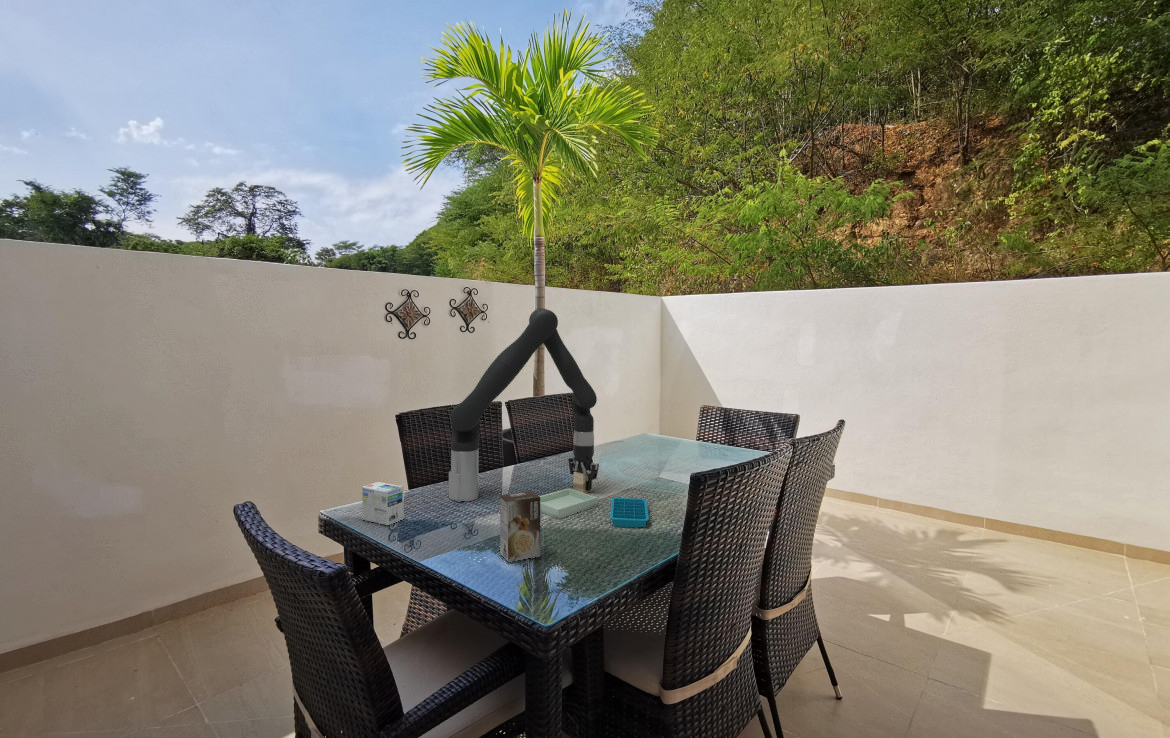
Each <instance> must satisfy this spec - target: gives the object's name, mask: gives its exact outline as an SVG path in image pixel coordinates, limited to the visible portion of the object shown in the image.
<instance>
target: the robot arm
mask: <svg viewBox="0 0 1170 738" xmlns="http://www.w3.org/2000/svg"><path fill="white" fill-rule="evenodd" d="M558 324H559V320H558V317H557V315H556V314H555V313H554V312H553V311H552V310H550V309H547V308H538V309H535V310H534V311H532V312H531V314H530V316H529V319H528V324H527V327H526V328H525V329H524V331H523V332H522V333H521V334H520V335H519V336H518V338H517V339H515V341H513V342H512V343H511V344H510V345H508V346H507V347H506V348H505V349H503V350H502V351H501V352H500V353H499V354H498V355H497V356H496V358H495V359H494V360H493V361H492V362H491V363H490V365H489V366H488V367H487V369H486V370H485V372H484V373H483V375H482V376H481V377H480V380H479V381H478V382H477V384H476V386H475V387H474V388H473V390H472V391H471V392H470V393H469V394H468V395H467V396H466V397H465V399H463V400H462V401H461V402H460V403H458V404H456V405H455V406H454V408H453V409H452V410H451V414H450V419H449V420H450V423H451V440H450V441H451V442H450V446H451V447H450V456H451V458H450V466H451V468H450V470H449V471H448V498H449V500H451V501H454V500H455V501H454V502H456V501H457V502H456V503H461V501H465V502H470V501H475V500H477V499H478V498H479V451H480V450H479V447H480V444H479V443H480V418H481V417H482V416H483V414H484V413H485V412H486V410H487V409H488V407H489V406H490V404H492V403H493V401H494V400H495V399H496V398H498V397H499V395H501V394H502V392H503V391H505V389H507V387H508V386H509V385H510V384H511V383H512V382H513V381H514V379H515V378H516V377H517V376H518V374H520V372H521V371H522V370H523V369H524V367H525V366H526V365H527V363H528V362H529V361H530V359H531V358H532V356H533V354H534V353H536V351H537V350H538V349H539V348H540V346H542V345H544V347H545V348H546V350H547V352H548V353H549V355H550V357H551V359H552V361H553V363H554V364H555V367H556V369H557V371H558V373H559V375H560V376H561V378H562V380H563V382H564V384H565V385H566V387H568V388H569V389H571V391H572V392H573V394H572V400H571V404H572V410H573V416H574V424H573V425H574V427H573V429H574V431H573V444H572V445H573V446H572V447H573V451H572V453H573V456H574V457H570V458H569V457H568V459H567V460H568V467H569V473H570V475H573V472H579V471H583V473H584V474H585V475H586V491H589V490H591V488H592V480H593V481H594V480H596V479H597V476H598V473H599V468H600V464H599V463H595V462H594V460H593V457H594V455H595V454H594V453H595V433H594V431H595V430H594V429H595V425H594V423H595V420H594V417H593V415H592V413H591V409H592V408H594V407H595V406H596V404H597V400H598V399H597V398H598V397H597V394H596V391H595V390H594V389H593V387H592V386H591V384H590V383H589V382H588V381H587V379H586V378H585V376H584V374H583V373H582V370H581V369H580V367H579V365H578V363H577V361H576V360H575V358H574V357H573V355H572V354H571V352H570V350H569V349H568V348H567V346H566V345H565V343H564V341H563V339H562V338H561V336H560V334H559V332H558V329H557V328H558V326H559V325H558ZM587 471H588V472H587ZM588 474H589V476H588ZM592 489H593V488H592Z"/></svg>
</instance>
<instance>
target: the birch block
mask: <svg viewBox="0 0 1170 738" xmlns="http://www.w3.org/2000/svg"><path fill="white" fill-rule="evenodd" d="M588 471H589V470H588ZM588 471H587V472H588ZM572 475H573V478H572V479H573V483H572V484H573V485H572V489H573V490H576V491H579V492H582V493H585V494H589V493H592V492H593V484H594V483H593V482H594V480H592V488H591V490H589V491H586V475H585V474H584V473H583V471H579V472H573V474H572ZM588 476H589V474H588ZM588 492H589V493H588Z"/></svg>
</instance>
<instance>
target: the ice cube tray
mask: <svg viewBox="0 0 1170 738" xmlns="http://www.w3.org/2000/svg"><path fill="white" fill-rule="evenodd" d="M609 518H610V520H611V521H612V526H613V527H615V526H618V527H619V528H636V527H645V526H647V522H648V521H649V520H650V517H649V509H648V500H647V499H644V498H632V497H631V498H630V497H612V498H611V503H610V514H609ZM618 527H617V528H618ZM645 528H646V527H645Z"/></svg>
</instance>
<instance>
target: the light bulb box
mask: <svg viewBox="0 0 1170 738" xmlns="http://www.w3.org/2000/svg"><path fill="white" fill-rule="evenodd" d="M361 491H362V493H361V495H362V498H361V499H362V501H361V502H362V520H363V519H365V520H369V521H374V522H378V523H381V524H385V525H390V524H392V525H394V524H393V523H395V522H397V523H399V522H401V521H400V520H402V521H404V520H405V518H404V517H405V510H404V503H405V502H404V485H398V484H392V483H387V482H380V481H377V482H376V481H375V482H373V483H370V484H367V485H363V486H362V487H361ZM403 519H404V520H403ZM398 521H399V522H398ZM395 524H396V523H395ZM390 526H391V525H390Z"/></svg>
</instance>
